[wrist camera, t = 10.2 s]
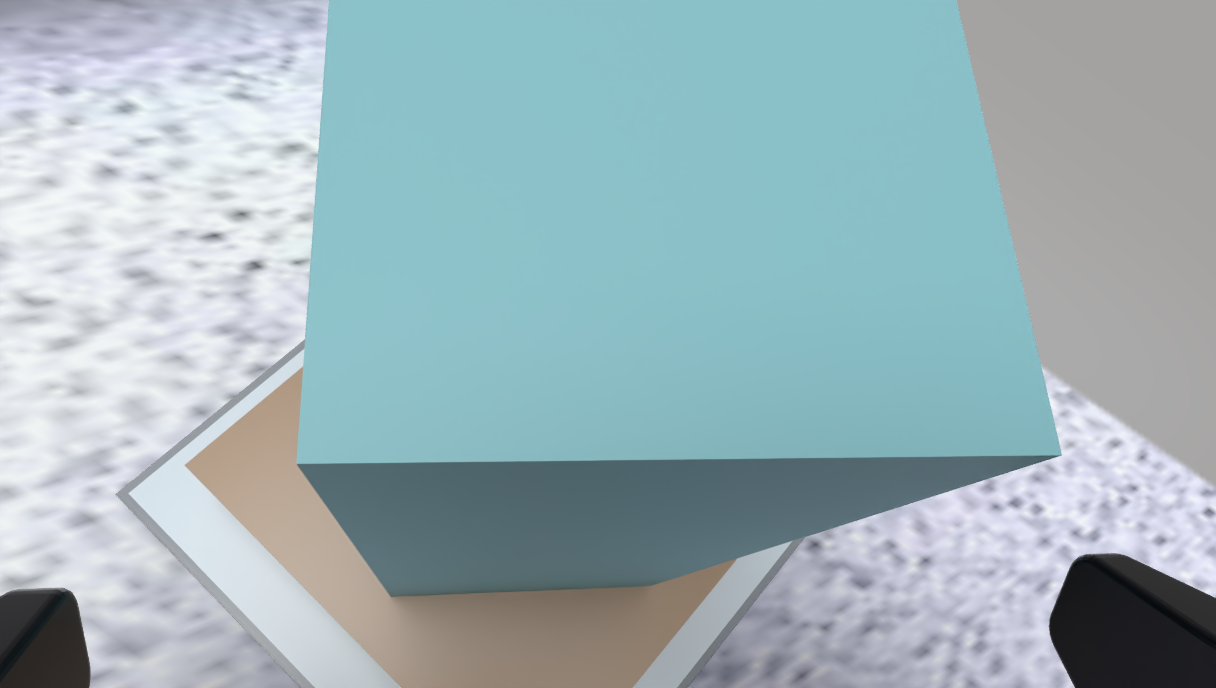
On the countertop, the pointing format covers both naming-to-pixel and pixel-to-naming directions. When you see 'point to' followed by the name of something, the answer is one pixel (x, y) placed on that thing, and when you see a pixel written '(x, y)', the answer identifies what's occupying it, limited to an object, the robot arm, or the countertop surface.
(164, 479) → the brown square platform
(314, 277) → the teal block
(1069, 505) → the countertop surface
